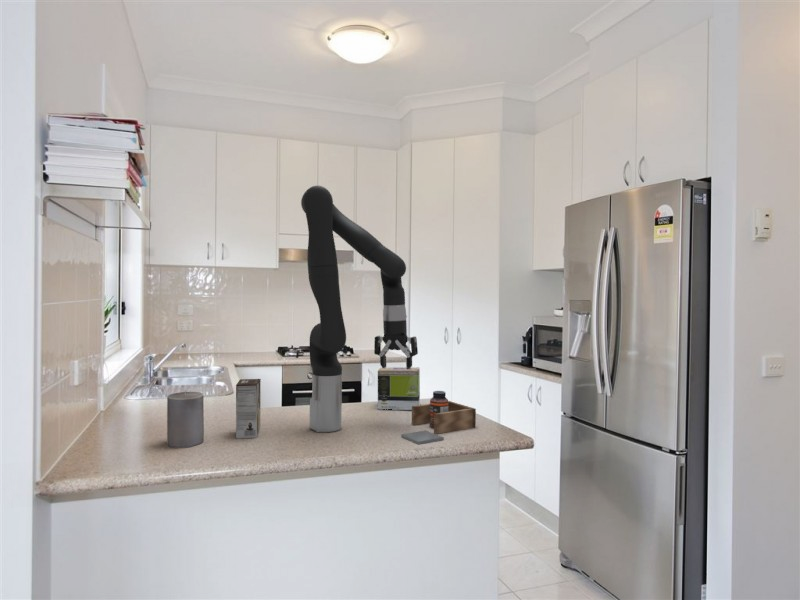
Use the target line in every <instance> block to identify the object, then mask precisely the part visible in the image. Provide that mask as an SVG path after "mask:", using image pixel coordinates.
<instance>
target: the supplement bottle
mask: <svg viewBox="0 0 800 600" xmlns="http://www.w3.org/2000/svg"><path fill="white" fill-rule="evenodd" d="M448 401H449V399H448V398H447V397H446V391H443V390H435V391H433V392H432V397H431V398H430V400H429V404H430V423H429V427H431V428H433V429H434V414H436V413H443V412H448Z"/></svg>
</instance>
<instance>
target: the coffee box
mask: <svg viewBox="0 0 800 600" xmlns="http://www.w3.org/2000/svg"><path fill="white" fill-rule="evenodd" d="M261 382H262V381H261V378H243V379H242V378H241V379H239V380H238V381H237V383H236V385H235V438H236V439H257V438H258V437H259V434H260V431H261Z"/></svg>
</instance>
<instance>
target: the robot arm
mask: <svg viewBox="0 0 800 600" xmlns="http://www.w3.org/2000/svg"><path fill="white" fill-rule="evenodd" d="M300 202H301V203H300V205H301V208H302V211H303V212H304V213H305V216H306V217H305V218H306V223H307V228H308V229H307V230H308V242H307V272H308V274H307V275H308V282H309V286H310V289H311V292H312V294H313V296H314V299H315V301H316V303H317V306H318V311H319V319H320V320H319V321H320V322H319V323H317V324H316V325H314V326H313V327H312V329H311V330H310V334H309V363H310V366H311V371H312V373H311V374H312V379H311V380H312V382H311V383H312V384H311V386H312V389H311V390H312V393H311V394H312V395H311V397H310V398H309V429H310V430H313V431H314V432H317V433H329V432H336V431H340V430H341V429H342V423H343V422H342V420H343V419H342V412H343V410H342V409H343V408H342V406H343V405H342V403H343V400H342V397H343V393H342V392H343V391H342V389H343V386H342V385H343V366H342V364H341V363H340V361H339V359H338V355H337V354H338V353H340V352H341V351H342V350H343V349H344V347H346V341H347V331H346V327H345V322H344V316H343V310H342V304H341V301H342V300H341V290H340V278H339V277H340V275H339V266H338V256H337V249H336V243H335V237H334V233H335V234H336V235H338V236H339V237H340V238H341V239H342V240H344V241H345V243H347V244H348V245H349V246H350V247H352V249H354V250H355V251H356V252H357V253H359V255H360V256H361V257H362V258H364V259H366V260H367V261H369V262H370V263H371V264H374V265H375V266H376V267H377V268H378V269H380V279H381V285H382V292H383V295H382V298H383V299H382V301H383V303H382V304H383V308H382V321H383V322H382V323H383V324H382V325H383V336H381V335H376V336H375V337H374V350H373V351H374V352H373V353H374V355H377V356H379V359H380V361H379V362H380V364H379V365H380V367H382V368H385V367H387V356H386V354H387V353H388V352H389V351H393V350H394V351H401V352H402V353H403V354H404V355H405V356H406V357H405V364H406V366H405V367H406V369H410V368H411V367H413V357H415V356H417V355H418V353H419V351H418V340H417V336H415V335H414V336H408V333H407V332H408V329H407V327H408V326H407V318H408V317H407V316H408V315H407V308H406V294H405V293H406V292H405V289H404V287H403V284H402V278H403V276H404V275H406V274H405V273H406V271H407V264H406V262H405V261H404V260H403V259H402V257H400V256H399V255H397V254H396V253H395V252H394V251H392V250H391V249H389V248H388V247H386V246H385V245H384V244H382V243H381V242H380V241H379V240H378V239H377V238H376V237H375V236H374V235H372V234H371V233H370V232H369V231H368V230H366V229H365V228H363V227H362V226H361V225H359V224H357V223H356V222H355V221H354V220H352V219H350V218H349V217H347V216H346V215H345V214H344V213H343V212H342V211H340V210H339V208H338V207H336V205H335V204H334V200H333V196H332V194H331V192H330V191H329V189H327V188H326V187H325V186H322V185H313V186H311V187H309V188H308V189H307V190H306V191H304V194H303V195H302V196H301V200H300ZM382 343H384V346H383V348H382V350H381V346H382ZM407 343H409V344H410V347H409V346H408V345H407ZM410 349H411V350H410Z"/></svg>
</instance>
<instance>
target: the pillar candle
mask: <svg viewBox="0 0 800 600" xmlns="http://www.w3.org/2000/svg"><path fill="white" fill-rule="evenodd" d="M166 397H167V398H166V399H167V401H166V403H167V404H166V405H167V406H166V407H167V408H166V416H167V417H166V421H167V422H166V423H167V425H166V426H167V427H166V430H167V433H166V435H167V436H166V438H167V440H166V441H167V443H166V445H167V446H168V447H170V448H175V449H178V448H179V449H181V448H189V447H190V448H191V447H193V446H194V447H195V446H199V445H201V444H203V443H204V441H205V440H204V438H205V436H204V435H205V430H204V429H205V427H204V426H205V425H204V424H205V423H204V419H205V418H204V412H205V410H204V393H202V392H198V391H187V390H185V391H182V392H174V393H170V394H168V395H167V396H166Z"/></svg>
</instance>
